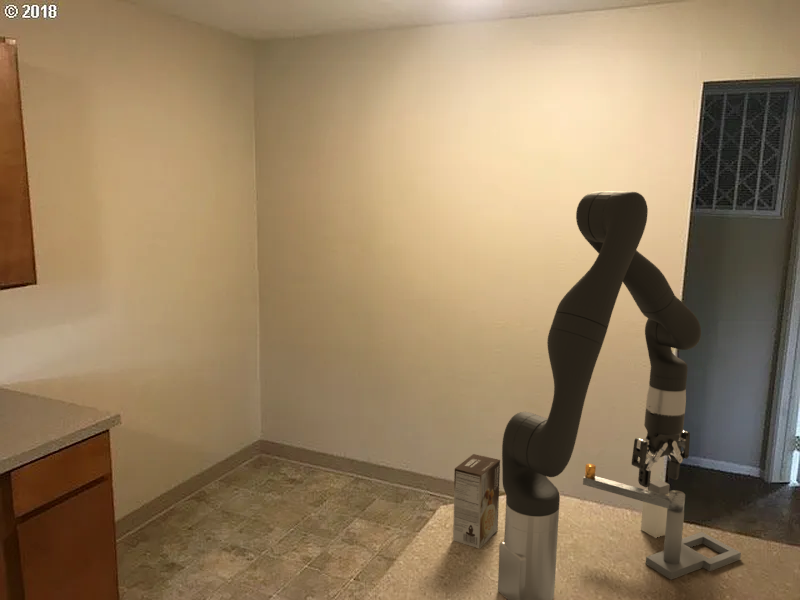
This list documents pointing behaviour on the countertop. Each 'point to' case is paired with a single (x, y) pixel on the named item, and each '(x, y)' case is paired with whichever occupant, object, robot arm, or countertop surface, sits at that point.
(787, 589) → the countertop surface
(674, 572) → the dock
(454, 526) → the coffee box
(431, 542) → the countertop surface
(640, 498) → the long flat grey beam
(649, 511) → the plug
